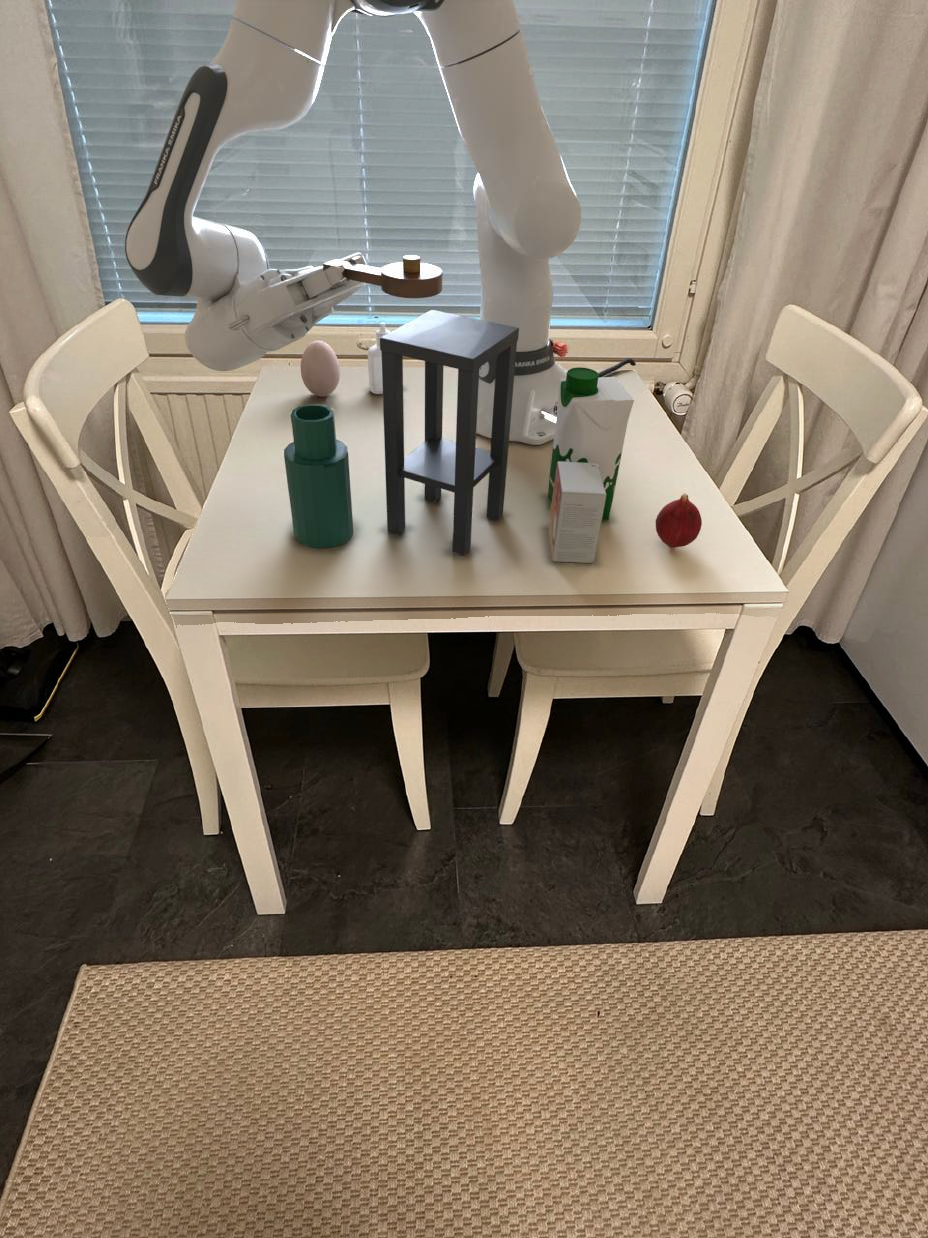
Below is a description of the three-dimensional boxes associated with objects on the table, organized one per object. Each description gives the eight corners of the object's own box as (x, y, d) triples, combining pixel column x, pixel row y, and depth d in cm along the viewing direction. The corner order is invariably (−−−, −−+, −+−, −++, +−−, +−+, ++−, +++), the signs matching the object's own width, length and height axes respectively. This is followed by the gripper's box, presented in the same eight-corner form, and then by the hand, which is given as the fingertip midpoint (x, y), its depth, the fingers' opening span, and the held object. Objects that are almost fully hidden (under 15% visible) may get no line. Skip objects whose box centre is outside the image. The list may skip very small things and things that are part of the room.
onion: (702, 556, 100) (717, 504, 95) (663, 562, 99) (677, 509, 94) (680, 532, 105) (694, 481, 99) (643, 538, 103) (654, 486, 98)
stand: (386, 531, 102) (379, 337, 86) (430, 492, 111) (431, 309, 94) (464, 556, 98) (473, 359, 82) (504, 514, 107) (519, 327, 90)
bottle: (338, 511, 106) (328, 394, 95) (363, 538, 101) (356, 418, 90) (285, 525, 102) (269, 406, 92) (308, 554, 97) (294, 432, 87)
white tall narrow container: (399, 395, 137) (398, 328, 129) (368, 394, 137) (365, 326, 129) (400, 385, 140) (399, 319, 132) (370, 384, 140) (367, 318, 132)
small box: (547, 528, 104) (556, 459, 97) (588, 530, 104) (599, 461, 97) (551, 562, 98) (560, 491, 91) (594, 564, 98) (607, 493, 91)
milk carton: (540, 494, 111) (555, 360, 98) (599, 491, 112) (622, 358, 100) (555, 527, 105) (574, 387, 92) (617, 523, 106) (645, 385, 93)
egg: (349, 395, 136) (346, 341, 130) (320, 406, 132) (315, 351, 126) (324, 384, 139) (320, 331, 133) (295, 395, 135) (289, 340, 129)
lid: (311, 278, 88) (309, 247, 86) (346, 265, 93) (344, 235, 91) (422, 302, 83) (423, 269, 81) (452, 286, 88) (453, 255, 86)
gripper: (207, 305, 89) (282, 259, 81) (312, 266, 103) (385, 223, 95) (235, 356, 92) (311, 317, 83) (334, 311, 106) (407, 274, 97)
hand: (351, 266), depth 89 cm, fingers closed on lid, 2 cm apart
